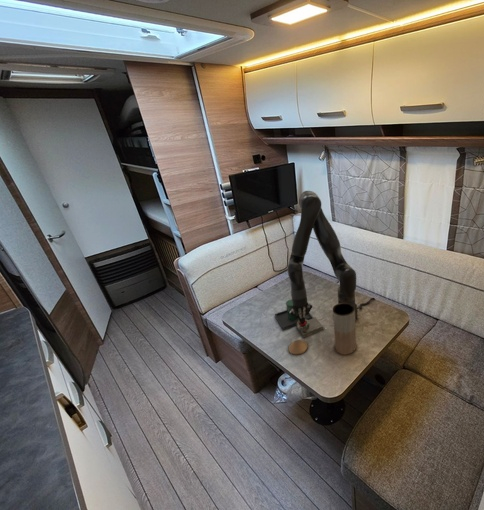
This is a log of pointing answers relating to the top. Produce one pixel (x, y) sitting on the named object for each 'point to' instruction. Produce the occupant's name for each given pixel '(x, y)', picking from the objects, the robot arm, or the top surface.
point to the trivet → (298, 347)
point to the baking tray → (287, 323)
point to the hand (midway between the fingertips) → (302, 322)
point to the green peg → (289, 306)
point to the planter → (344, 327)
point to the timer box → (310, 327)
